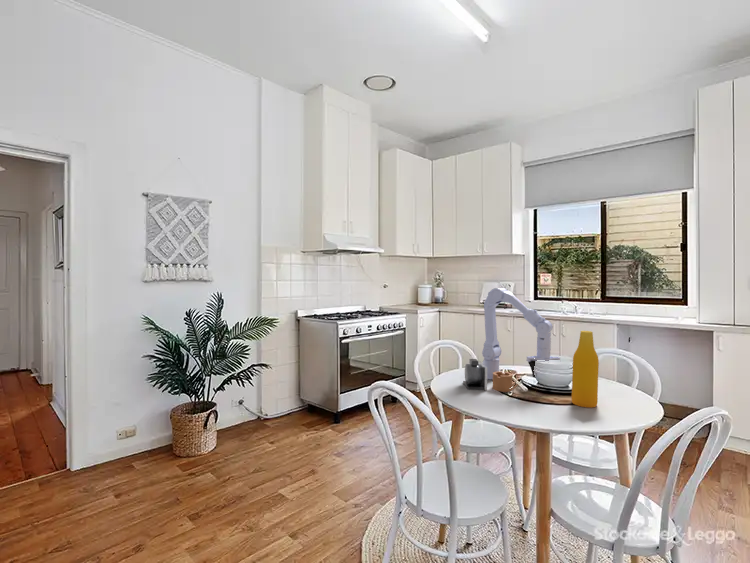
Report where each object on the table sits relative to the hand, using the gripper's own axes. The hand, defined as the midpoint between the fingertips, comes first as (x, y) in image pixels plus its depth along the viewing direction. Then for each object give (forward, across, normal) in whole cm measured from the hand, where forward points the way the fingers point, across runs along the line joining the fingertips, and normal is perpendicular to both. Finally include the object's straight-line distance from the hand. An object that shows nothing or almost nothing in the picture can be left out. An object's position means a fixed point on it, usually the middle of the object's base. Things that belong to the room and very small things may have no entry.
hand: (542, 377), depth 188 cm
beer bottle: (+5, +7, -23) cm, 25 cm away
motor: (+4, -31, 0) cm, 31 cm away
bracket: (+5, -17, +1) cm, 17 cm away
